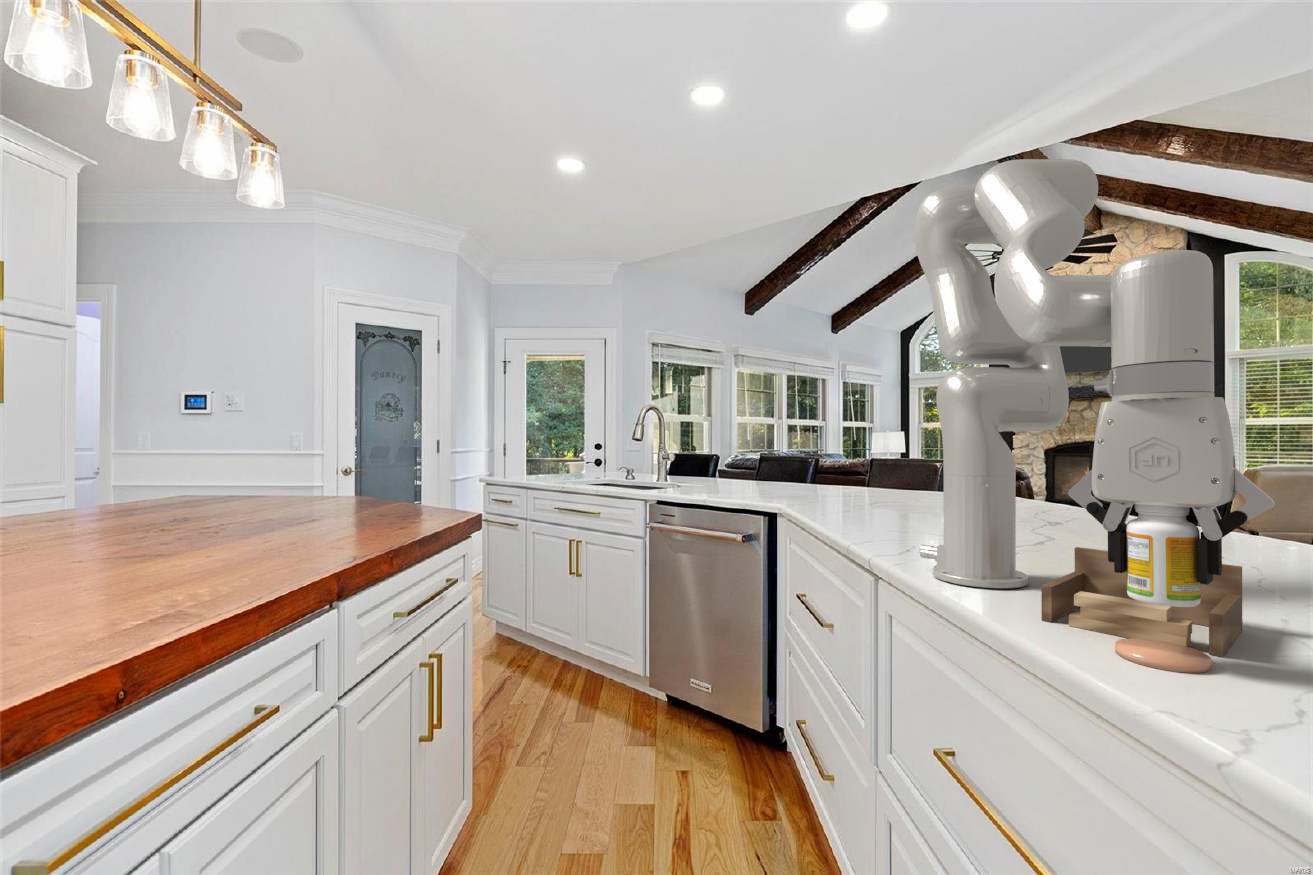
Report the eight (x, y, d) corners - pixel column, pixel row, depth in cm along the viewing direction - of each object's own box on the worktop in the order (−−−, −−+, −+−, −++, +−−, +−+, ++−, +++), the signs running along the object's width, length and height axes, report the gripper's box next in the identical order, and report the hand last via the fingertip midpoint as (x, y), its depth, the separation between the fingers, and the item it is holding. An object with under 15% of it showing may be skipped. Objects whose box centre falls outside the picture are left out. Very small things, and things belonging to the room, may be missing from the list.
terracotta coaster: (1106, 657, 58) (1106, 648, 58) (1125, 641, 62) (1125, 633, 62) (1203, 679, 53) (1203, 670, 53) (1217, 660, 57) (1217, 652, 57)
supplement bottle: (1202, 600, 57) (1201, 498, 57) (1198, 611, 54) (1197, 502, 54) (1130, 591, 61) (1130, 495, 61) (1122, 600, 57) (1121, 498, 57)
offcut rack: (1041, 620, 70) (1041, 559, 70) (1077, 601, 78) (1077, 547, 78) (1223, 657, 58) (1222, 584, 58) (1242, 630, 66) (1242, 566, 66)
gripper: (1044, 389, 62) (1046, 567, 62) (1286, 375, 49) (1289, 601, 48) (1068, 393, 67) (1070, 558, 66) (1294, 381, 53) (1297, 587, 53)
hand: (1162, 574), depth 57 cm, fingers closed on supplement bottle, 5 cm apart
